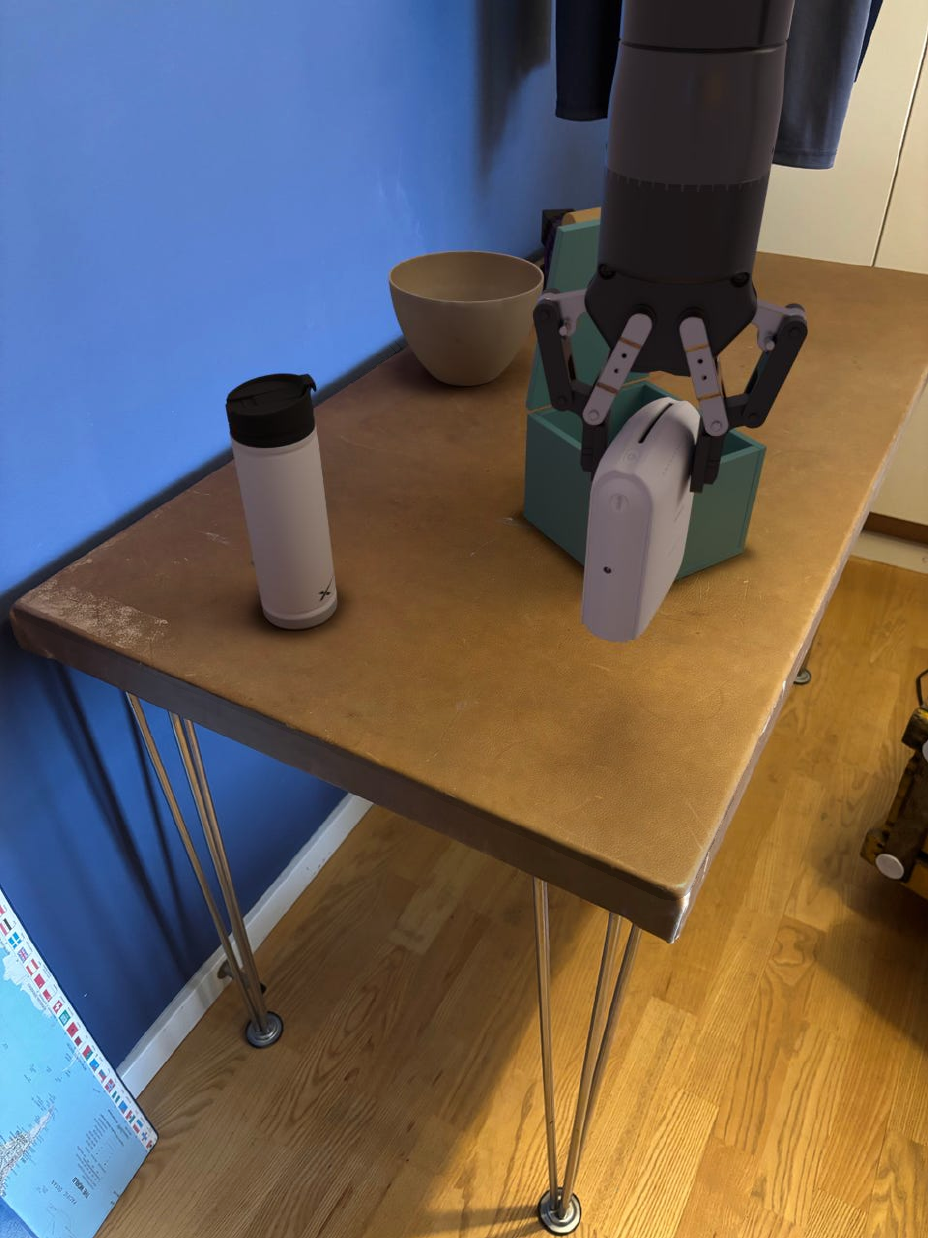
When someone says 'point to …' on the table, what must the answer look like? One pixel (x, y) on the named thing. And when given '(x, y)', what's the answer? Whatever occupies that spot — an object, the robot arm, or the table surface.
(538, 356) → the lid
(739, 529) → the chest
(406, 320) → the beige bowl
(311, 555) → the travel mug
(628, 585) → the photo printer
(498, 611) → the table surface
